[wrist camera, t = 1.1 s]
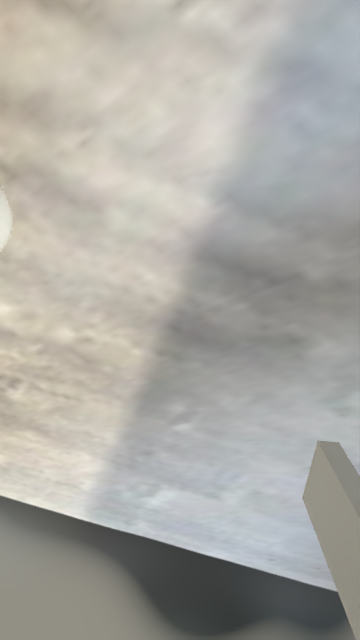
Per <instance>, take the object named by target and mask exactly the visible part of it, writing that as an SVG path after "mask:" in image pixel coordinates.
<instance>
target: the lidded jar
mask: <svg viewBox="0 0 360 640" xmlns="http://www.w3.org/2000/svg"><path fill="white" fill-rule="evenodd" d="M12 227H13V215H12V209H11V205H10V202H9V200H8V197H7V195H6V193H5V192H4V190H3V188H2V187H1V186H0V252H1V251H2V250H3V249H4V247H5V246H6V244H7V242H8V240H9V238H10V236H11V233H12Z"/></svg>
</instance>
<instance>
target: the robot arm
mask: <svg viewBox="0 0 360 640" xmlns="http://www.w3.org/2000/svg"><path fill="white" fill-rule="evenodd" d="M303 501H304V503H305V506H306V508H307V511H308V514H309V516H310V519H311V522H312V524H313V527H314V530H315V532H316V535H317V538H318V540H319V543H320V545H321V548H322V551H323V553H324V556H325V559H326V561H327V564H328V567H329V569H330V572H331V575H332V577H333V580H334V583H335V585H336V588H337V590H338V593H339V596H340V598H341V600H342V604H343V606H344V609H345V612H346V614H347V617H348V620H349V622H350V625H351V627H352V630H353V633H354V635H355V638H356V640H360V476H359V475H358V473H357V471H356V470H355V468H354V466H353V465H352V463H351V462H350V460H349V458H348V457H347V455H346V454H345V452H344V450H343V449H342V447H341V445H340V444H339V443H338V442H327V441H318V442H317V446H316V449H315V453H314V457H313V461H312V464H311V468H310V472H309V476H308V479H307V483H306V487H305V491H304V494H303Z"/></svg>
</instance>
